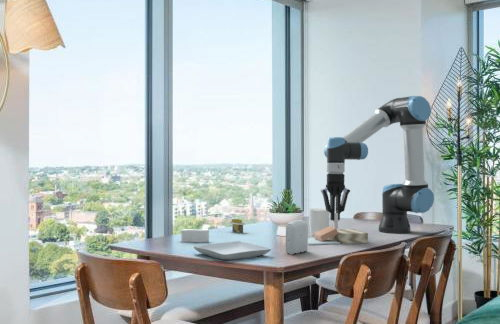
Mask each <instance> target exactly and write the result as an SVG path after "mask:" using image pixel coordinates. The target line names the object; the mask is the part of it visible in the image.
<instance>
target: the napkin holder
mask: <svg viewBox="0 0 500 324" xmlns="http://www.w3.org/2000/svg"><path fill="white" fill-rule="evenodd" d="M180 234H181V237H180V238H181V243H182V242H187V243H189V242H192V243H195V242H196V243H206V242H207V243H208V242H209V241H210V239H209V238H210V230H209V229H196V228H191V229H190V228H189V229H188V228H187V229H186V228H185V229H181V233H180ZM209 243H210V242H209Z"/></svg>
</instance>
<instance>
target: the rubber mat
mask: <svg viewBox="0 0 500 324" xmlns="http://www.w3.org/2000/svg"><path fill="white" fill-rule="evenodd" d="M308 244H309V245H308V246H319V245H320V246H323V245H324V244H325V245H326V244H327V245H341V243H340V242H337V241H334V240H332V239H329V238H328V239H326V240H324V241H320V240H317V239H315V238H314V237H308ZM325 245H324V246H325Z"/></svg>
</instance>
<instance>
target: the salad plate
mask: <svg viewBox="0 0 500 324" xmlns="http://www.w3.org/2000/svg"><path fill="white" fill-rule="evenodd" d="M193 249H194V250H195V251H197V252H198V253H200V254H202V255H205V256H207V257H208V256H209V257H211V258H216V259H220V260H224V261H230V260H231V261H234V260H241V259H248V258H257V256H258V257H260V256H264V255H266V254H268V253H270V252H271V250H272V248H270V247H266V246H263V245H258V244H255V243H250V242H246V241H245V242H244V241H241V240H235V241H227V242H226V241H225V242H217V243H216V242H215V243H209V244H201V245H194V246H193Z"/></svg>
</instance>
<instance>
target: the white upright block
mask: <svg viewBox="0 0 500 324" xmlns="http://www.w3.org/2000/svg"><path fill="white" fill-rule="evenodd" d="M308 228H309V225H308V223H307V222H306V220H302V219H294V220H291V221H289V222H288V223H287V224H286V227H285V253H286V254H287V253H289V254H288V255H295V254H294V253H296V254H300V252H301V253H304V251H305V252H308V246H309V245H308V238H309V237H308V236H309V235H308V233H309V232H308V231H309V229H308Z"/></svg>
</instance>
